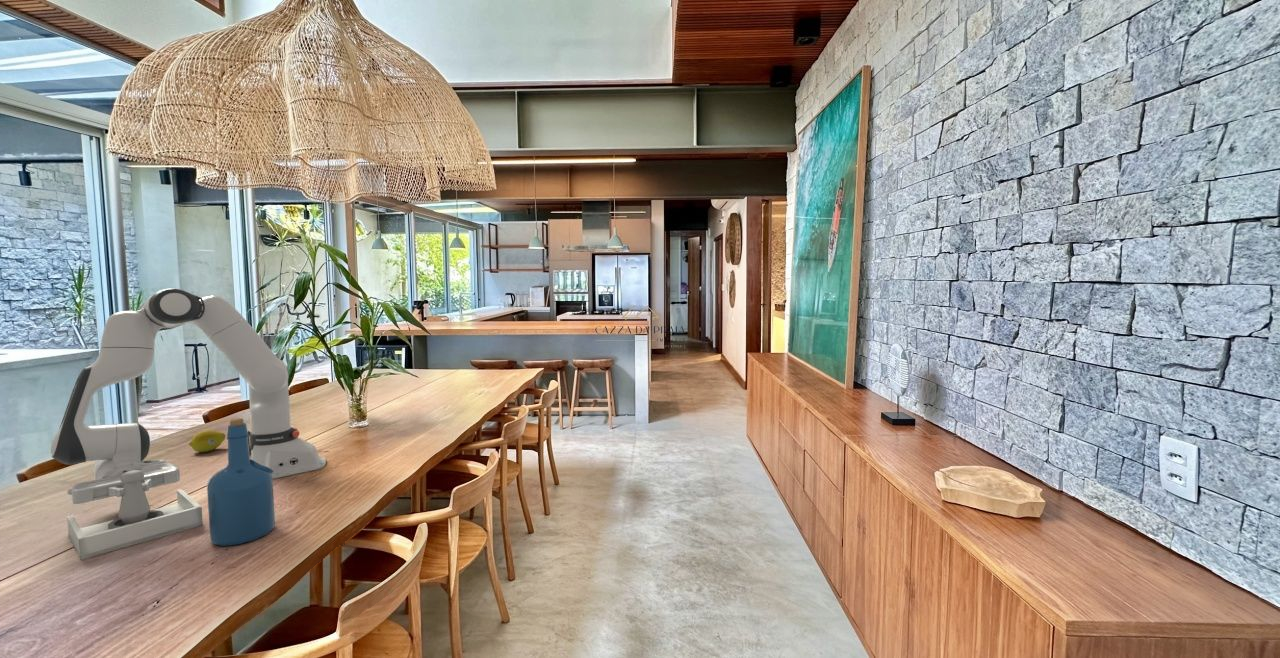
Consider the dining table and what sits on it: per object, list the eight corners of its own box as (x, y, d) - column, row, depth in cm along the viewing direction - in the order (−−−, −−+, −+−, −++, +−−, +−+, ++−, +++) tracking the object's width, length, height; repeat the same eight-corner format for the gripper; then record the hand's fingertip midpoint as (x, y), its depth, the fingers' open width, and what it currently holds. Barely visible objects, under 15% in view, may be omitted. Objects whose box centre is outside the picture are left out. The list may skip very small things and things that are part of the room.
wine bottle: (222, 553, 121) (214, 429, 118) (200, 539, 128) (192, 421, 125) (287, 530, 132) (280, 416, 130) (263, 518, 139) (257, 410, 137)
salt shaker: (130, 526, 129) (127, 476, 128) (112, 524, 130) (109, 474, 129) (156, 516, 134) (153, 468, 133) (139, 514, 136) (136, 466, 135)
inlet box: (68, 535, 130) (67, 516, 129) (182, 505, 147) (181, 489, 147) (80, 560, 118) (78, 539, 117) (202, 525, 135) (201, 506, 135)
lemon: (190, 456, 190) (189, 435, 190) (188, 451, 196) (187, 431, 195) (227, 450, 198) (226, 430, 197) (225, 445, 203) (223, 426, 203)
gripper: (65, 478, 131) (72, 491, 122) (171, 457, 147) (184, 468, 139) (66, 502, 131) (74, 516, 123) (172, 478, 147) (185, 490, 139)
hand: (133, 490), depth 131 cm, fingers closed on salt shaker, 3 cm apart
